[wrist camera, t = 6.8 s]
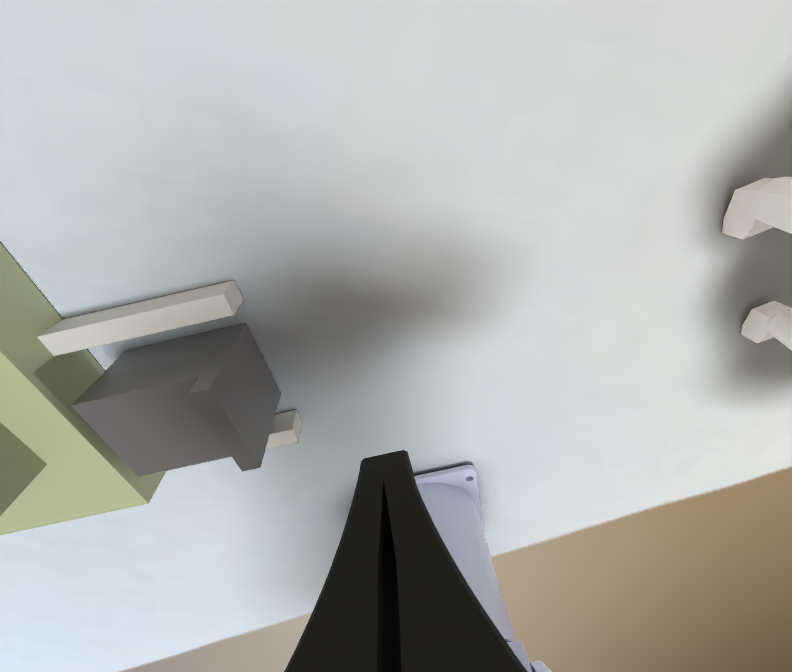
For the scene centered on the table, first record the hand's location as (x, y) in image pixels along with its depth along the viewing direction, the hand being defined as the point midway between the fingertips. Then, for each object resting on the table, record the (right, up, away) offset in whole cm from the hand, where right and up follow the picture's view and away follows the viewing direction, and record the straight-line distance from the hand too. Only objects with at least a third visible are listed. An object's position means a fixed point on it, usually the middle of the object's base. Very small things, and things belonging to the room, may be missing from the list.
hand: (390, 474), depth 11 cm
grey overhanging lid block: (-9, +2, +7) cm, 12 cm away
